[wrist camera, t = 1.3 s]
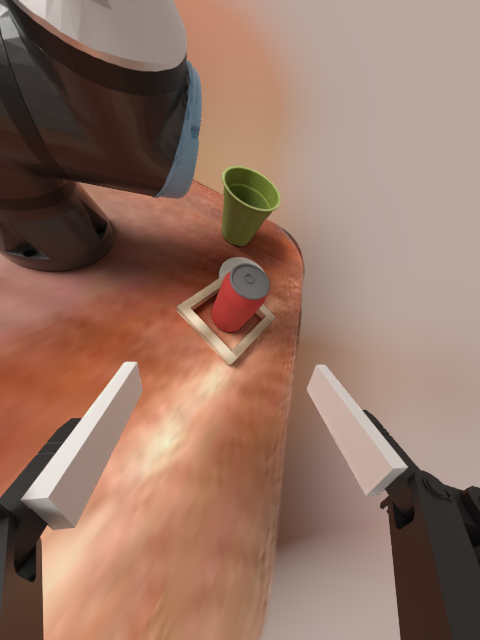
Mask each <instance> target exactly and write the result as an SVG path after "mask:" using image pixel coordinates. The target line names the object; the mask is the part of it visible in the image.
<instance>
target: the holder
mask: <svg viewBox="0 0 480 640" xmlns="http://www.w3.org/2000/svg"><path fill="white" fill-rule="evenodd" d="M228 273H229V272H228ZM228 273H227V274H228ZM227 274H225V275H224V276H222V277H221V278H219V279H218V280H216V281H215V282H213V283H212V284H210V285H209V286H207V287H206V288H204V289H203V290H201V291H199V292H198V293H196V294H195V295H193V296H192V297H190V298H189V299H187V300H186V301H184V302H183V303H181V304H180V305H178V306H177V312H178V313H179V314H180V315H181V316H182V317H183V318H184V319H185V320H186V322H187V323H188V324H189V325H190V326H191V327H192V328H193V329H194V330H195V331H196V332H197V333H198V334H199V335H200V336H201V337H202V339H203V340H204V341H205V342H206V343H207V344H208V345H209V346H210V347H211V348H212V349H213V350H214V351H215V352H216V353H217V355H218V356H219V357H220V358H221V359H222V360H223V361H224V362H225V363H226V364H227V365H228V366H229V365H231V364H232V363H233V362H234V361H235V360H236V359H237V358H238V357H239V356H240V355H241V354H242V353H243V352H244V350H245V349H246V348H247V347H248V346H249V345H250V344H251V343H252V342H253V341H254V340H255V339H256V338H257V337H258V336H259V335H260V334H261V332H262V331H263V330H264V329H265V328H266V327H267V326H268V325H269V324H270V323H271V322H272V321H273V320H274V319H275V318H276V317H275V316H274V315H273V314H272V313H271V312H270V311H269V310H268V309H267V308H266V307H265V306H264V305H262V306H261V307H260V308H259V309H258V310H257V311H256V312H255V314H256V315H257V316H258V317H259V318H260V319H261V321H260V322H259V323H258V324H257V325H256V326H255V327H254V328H253V329H252V330H251V331H250V332H249V333H248V334H247V335H246V336H245V337H244V338H243V339H242V340H241V341H240V342H239V343H238V344H237V345H236V346H235V347H234V348H233V349H232V350H230V349H229V348H228V347H227V346H226V345H225V344H224V343H223V342H222V341H221V340H220V339H219V338H218V337H217V336H216V334H215V333H214V332H213V331H212V330H211V329H210V328H209V327H208V326H207V325H206V324H205V323H204V322H203V321H202V320H201V319H200V318H199V317H198V316H197V314H196V313H195V312H194V311H193V310H194V309H196V308H197V307H199V306H200V305H201V304H203V303H204V302H206V301H207V300H208V299H210V298H211V297H213V296H214V295H215V294H217V293H218V292H219V290H220V287H221V284H222V282H223V280H224V278H225V276H226V275H227Z"/></svg>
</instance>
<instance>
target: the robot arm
mask: <svg viewBox="0 0 480 640" xmlns="http://www.w3.org/2000/svg"><path fill="white" fill-rule="evenodd" d="M186 54H187V36H186V31H185V28H184V25H183V22H182V20H181V18H180V15H179V13H178V10H177V8H176V6H175V3H174V1H173V0H0V253H1V254H2V255H3V256H4V257H6V258H7V259H9V260H10V261H12V262H14V263H16V264H19V265H21V266H24V267H28V268H32V269H37V270H44V271H64V270H72V269H77V268H81V267H84V266H87V265H89V264H92V263H94V262H96V261H97V260H99V259H100V258H102V257H103V256H104V255H105V254H106V253H107V252H108V251H109V250H110V248H111V246H112V244H113V239H114V235H113V230H112V228H111V225H110V223H109V221H108V218H107V217H106V215H105V213H104V212H103V211H102V210H101V208H100V207H99V206H98V205H97V204H96V203H95V201H94V200H93V199H92V198H91V197H90V196H89V195H88V193H87V192H86V191H85V190H84V189H83V188H82V186H81V185H80V184H79V183H78V182H82V183H87V184H92V185H97V186H102V187H107V188H113V189H118V190H123V191H128V192H133V193H138V194H143V195H148V196H152V197H154V198H155V197H156V198H158V197H167V198H176V199H178V198H181V197H183V196H185V195H186V194H187V192H188V191H189V189H190V186H191V183H192V180H193V176H194V171H195V166H196V161H197V154H198V146H199V141H198V135H199V131H200V123H201V107H202V104H201V103H202V102H201V101H202V99H201V97H202V96H201V83H200V78H199V75H198V73H197V71H196V69H195V68H194V67H192V65H191V63H190V62H189V61H187V60H186V57H187V55H186ZM307 391H308V393H309V395H310V397H311V398H312V400H313V402H314V403H315V406H316V407H317V409H318V411H319V413H320V415H321V416H322V418H323V420H324V422H325V424H326V425H327V427H328V429H329V431H330V432H331V434H332V436H333V438H334V440H335V442H336V443H337V445H338V447H339V449H340V451H341V452H342V454H343V456H344V458H345V459H346V461H347V463H348V465H349V467H350V468H351V470H352V472H353V474H354V476H355V477H356V479H357V481H358V483H359V485H360V486H361V488H362V490H363V492H364V494H365V495H366V496H371V495H379V494H380V493H381V492H382V491H383V490H386V491H387V493H388V495H389V496H388V497H387V498H386V499H385V500H384V501H382V502H381V504H380V508H382V509H384V508H385V507H386V506H387V505H388V510H387V513H388V514H389V523H390V535H391V545H392V555H393V564H394V575H395V586H396V596H397V606H398V616H399V626H400V636H401V640H480V488H478V487H474V486H471V487H469V488H467V489H466V490H464V491H463V490H460V489H456V488H453V487H450V486H447V485H444V484H443V483H441V482H440V481H439V480H438V479H437V478H435V477H434V476H433V475H431V474H430V473H427V472H425V471H421V470H420V469H419V468H418V467H417V466H416V465H415V464H414V463H413V462H412V460H411V459H410V458H409V457H408V455H407V454H406V453H405V452H404V451H403V449H402V448H401V447H400V446H399V445H398V444H397V442H396V441H395V440H394V439H393V438H392V437H391V436H390V435H389V433H388V432H387V431H386V429H384V428H383V426H382V425H381V424H380V422H379V421H378V420H377V419H376V418H375V417H374V416H373V415H372V414H370V413H369V412H368V411H367V410H361V408H359V406H358V405H357V403H356V402H355V401H354V400H353V398H352V397H351V396H350V395H349V394H348V392H347V391H346V390H345V389H344V387H343V386H342V385H341V384H340V382H339V381H338V380H337V379H336V378H335V376H334V375H333V374H332V373H331V371H330V370H329V369H328V368H327V366H326V365H316V367H315V369H314V372H313V375H312V377H311V380H310V382H309V385H308V387H307ZM142 392H143V389H142V384H141V379H140V374H139V369H138V364H137V362H124V364H123V365H122V366H121V368H120V369H119V370H118V372H117V373H116V374H115V376H114V377H113V378H112V380H111V381H110V382H109V384H108V385H107V386H106V388H105V389H104V390H103V392H102V393H101V394H100V395H99V397H98V398H97V399H96V401H95V402H94V403H93V405H92V406H91V407H90V409H89V410H88V411H87V413H86V414H85V415H84V417H83V418H71V419H70V420H69V421H68V422H66V423H65V424H64V425H63V426H61V427H60V428H59V429H58V430H57V431H56V432H55V433H54V434H53V436H52V437H51V438H50V439H49V440H48V442H47V444H45V445H44V446H43V448H42V449H41V450H40V451H39V452H38V455H36V456H35V457H34V458H33V459H32V461H31V462H30V463H29V464H28V465H27V467H26V468H25V469H24V470H23V471H22V473H21V474H20V475H19V476H18V477H17V479H16V480H15V481H14V482H13V483H12V484H11V486H10V487H9V488H8V489H7V490H6V492H5V493H4V494H3V495H2V496H1V498H0V640H43V593H42V545H41V538H40V536H41V534H42V533H43V531H44V529H45V528H46V526H47V525H48V526H49V527H50V528H51V529H53V530H57V529H66V528H75V526H76V524H77V522H78V520H79V518H80V516H81V514H82V512H83V510H84V508H85V506H86V504H87V502H88V500H89V498H90V496H91V494H92V492H93V490H94V488H95V486H96V484H97V482H98V480H99V478H100V476H101V474H102V472H103V470H104V468H105V466H106V464H107V462H108V460H109V458H110V456H111V454H112V452H113V450H114V448H115V446H116V444H117V442H118V440H119V438H120V436H121V434H122V432H123V430H124V428H125V426H126V424H127V422H128V420H129V418H130V416H131V414H132V412H133V410H134V408H135V406H136V404H137V402H138V400H139V398H140V396H141V394H142Z"/></svg>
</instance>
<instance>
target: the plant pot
mask: <svg viewBox="0 0 480 640" xmlns="http://www.w3.org/2000/svg"><path fill="white" fill-rule="evenodd" d="M222 181H223V185H224V207H223V220H222V235H223V237H224V238H225V239H226V240H227V241H228V242H229V243H231V244H233V245H239V246H244V245H247V244H248V243H249V241H250V240H251V239H252V237H253V236H254V234H255V233H256V232H257V230H258V229H259V227H260V226H261V225H262V223H263V222H264V221H265V219H266V218H267V217H268V216H269V215H270V214H271V213H272V211H274V210H276V209H277V208H278V207H279V205H280V203H281V197H280V193H279V191H278V190H277V188H276V187H275V185H274V184H273V183H272V182H271V181H270V180H269V179H268V178H266V177H265V176H264V175H262V174H260V173H259V172H257V171H255V170H253V169H250V168H247V167H243V166H232V167H228V168H227V169H225V170H224V172H223V174H222Z"/></svg>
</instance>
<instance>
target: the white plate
mask: <svg viewBox="0 0 480 640" xmlns="http://www.w3.org/2000/svg"><path fill="white" fill-rule="evenodd" d="M242 263H249V264H252V265H255V266H257V267H259V268H260V269H261V270H262V271H263V269H262V268H261V267H260V266H259V265H258V264H257V263H255V262H254V261H252V260H250V259H247V258H243V257H233V258H230V259H228V260H226V261H225V262H224V263H223V264H222V266H221V268H220V271H219V278H221V277H222V276H224V275H225V274H227V273H228V272H230V271H231V270H232V269H233V267H235V266H236V265H238V264H242ZM263 272H264V271H263ZM264 273H265V272H264Z"/></svg>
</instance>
